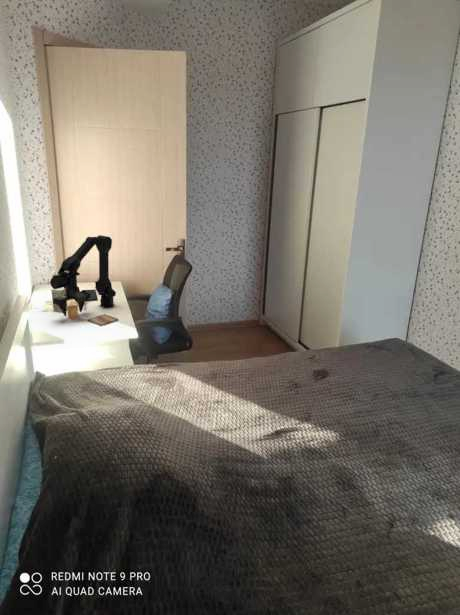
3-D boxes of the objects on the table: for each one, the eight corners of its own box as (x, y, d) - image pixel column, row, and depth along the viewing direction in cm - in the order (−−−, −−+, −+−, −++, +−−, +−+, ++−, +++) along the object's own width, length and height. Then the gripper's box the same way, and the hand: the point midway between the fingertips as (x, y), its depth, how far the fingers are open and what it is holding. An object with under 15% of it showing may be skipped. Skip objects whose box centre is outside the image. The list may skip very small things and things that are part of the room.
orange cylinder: (74, 315, 241) (73, 304, 239) (80, 317, 239) (79, 306, 237) (66, 317, 237) (65, 306, 236) (72, 319, 235) (71, 308, 233)
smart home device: (83, 299, 263) (81, 289, 281) (83, 302, 264) (81, 292, 281) (98, 298, 266) (95, 289, 284) (98, 301, 266) (95, 291, 284)
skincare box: (68, 310, 248) (66, 288, 245) (63, 312, 244) (61, 290, 241) (57, 308, 250) (56, 287, 246) (52, 310, 246) (51, 289, 242)
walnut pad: (104, 315, 242) (104, 313, 242) (118, 320, 236) (118, 318, 236) (87, 321, 234) (87, 319, 234) (101, 326, 228) (101, 324, 228)
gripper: (64, 291, 221) (67, 322, 226) (96, 284, 235) (97, 313, 240) (51, 287, 227) (53, 316, 232) (82, 280, 241) (84, 308, 246)
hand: (73, 313), depth 237 cm, fingers open, 9 cm apart
